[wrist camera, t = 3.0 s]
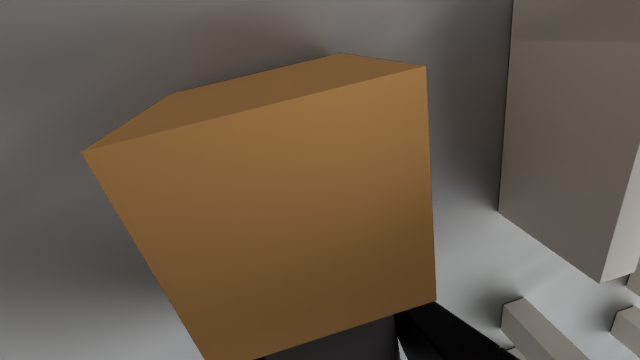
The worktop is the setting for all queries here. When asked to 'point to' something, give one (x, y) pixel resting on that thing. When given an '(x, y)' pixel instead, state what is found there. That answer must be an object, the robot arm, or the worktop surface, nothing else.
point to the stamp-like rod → (283, 206)
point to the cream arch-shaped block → (575, 131)
